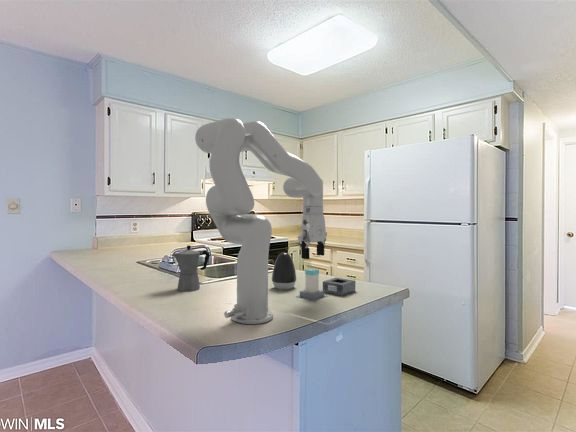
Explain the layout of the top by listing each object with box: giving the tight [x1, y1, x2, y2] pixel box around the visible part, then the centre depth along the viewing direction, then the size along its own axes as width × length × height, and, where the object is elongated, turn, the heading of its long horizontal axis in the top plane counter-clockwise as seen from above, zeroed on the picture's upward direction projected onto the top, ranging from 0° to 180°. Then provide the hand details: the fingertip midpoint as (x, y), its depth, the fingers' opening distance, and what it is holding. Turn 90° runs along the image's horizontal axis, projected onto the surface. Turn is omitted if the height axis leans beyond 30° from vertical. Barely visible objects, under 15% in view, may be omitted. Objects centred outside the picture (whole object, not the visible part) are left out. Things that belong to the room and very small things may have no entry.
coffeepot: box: [172, 244, 211, 293], centre depth 138 cm, size 15×9×18 cm, turn 121°
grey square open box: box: [295, 289, 329, 302], centre depth 125 cm, size 9×9×3 cm
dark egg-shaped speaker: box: [271, 252, 297, 291], centre depth 139 cm, size 10×10×15 cm
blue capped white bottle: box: [304, 268, 320, 293], centre depth 125 cm, size 4×4×10 cm
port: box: [322, 277, 356, 297], centre depth 132 cm, size 10×9×5 cm
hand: (313, 256), depth 125 cm, fingers open, 9 cm apart
